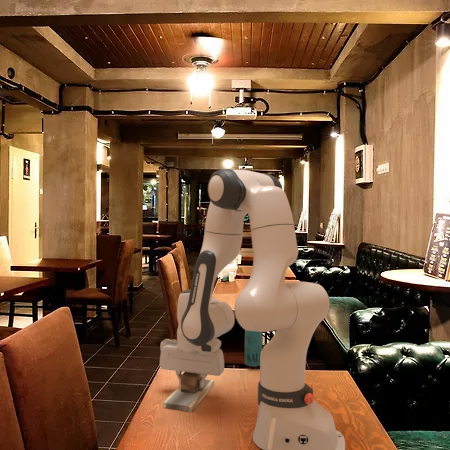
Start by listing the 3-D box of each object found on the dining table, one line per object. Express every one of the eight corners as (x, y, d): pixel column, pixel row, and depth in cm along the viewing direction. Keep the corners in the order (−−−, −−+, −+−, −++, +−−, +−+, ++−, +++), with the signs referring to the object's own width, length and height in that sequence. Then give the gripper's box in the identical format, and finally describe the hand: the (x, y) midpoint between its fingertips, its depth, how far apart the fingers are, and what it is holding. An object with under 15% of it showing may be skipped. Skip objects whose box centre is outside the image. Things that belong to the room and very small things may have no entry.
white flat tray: (214, 384, 145) (214, 380, 145) (191, 412, 126) (192, 406, 126) (188, 381, 147) (188, 376, 147) (162, 407, 128) (162, 402, 128)
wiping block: (202, 384, 141) (202, 369, 141) (194, 393, 134) (194, 377, 134) (189, 383, 142) (189, 367, 142) (180, 391, 135) (180, 375, 135)
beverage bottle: (251, 362, 165) (251, 309, 164) (266, 367, 161) (266, 312, 160) (240, 367, 160) (240, 312, 159) (255, 372, 156) (256, 315, 155)
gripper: (156, 341, 137) (156, 385, 138) (219, 347, 131) (219, 394, 132) (164, 335, 143) (164, 378, 144) (226, 341, 137) (225, 385, 138)
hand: (191, 385), depth 138 cm, fingers closed on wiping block, 4 cm apart
